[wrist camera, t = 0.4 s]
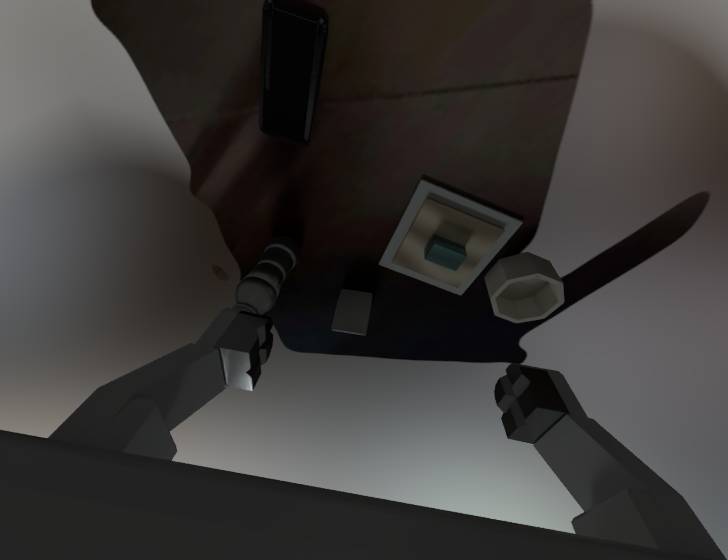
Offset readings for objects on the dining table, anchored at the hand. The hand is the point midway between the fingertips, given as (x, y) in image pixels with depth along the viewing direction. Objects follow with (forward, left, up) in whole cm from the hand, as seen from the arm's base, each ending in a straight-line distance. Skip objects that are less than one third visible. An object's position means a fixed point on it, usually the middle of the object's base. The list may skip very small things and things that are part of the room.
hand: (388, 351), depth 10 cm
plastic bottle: (+29, -13, -39) cm, 50 cm away
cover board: (+16, +14, -38) cm, 44 cm away
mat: (+16, +14, -39) cm, 44 cm away
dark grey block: (+36, +4, -39) cm, 53 cm away
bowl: (+17, +30, -39) cm, 52 cm away
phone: (+2, -17, -39) cm, 43 cm away
